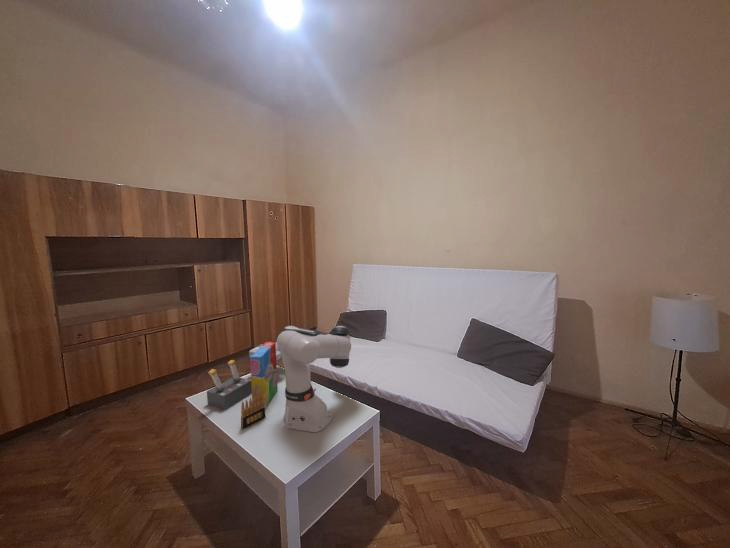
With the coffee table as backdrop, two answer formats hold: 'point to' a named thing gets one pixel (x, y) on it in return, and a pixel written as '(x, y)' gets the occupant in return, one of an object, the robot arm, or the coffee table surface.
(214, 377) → the lever
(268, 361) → the game box
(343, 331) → the robot arm
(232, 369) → the lever
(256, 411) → the ammunition clip
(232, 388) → the switch box
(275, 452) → the coffee table surface
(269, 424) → the coffee table surface
